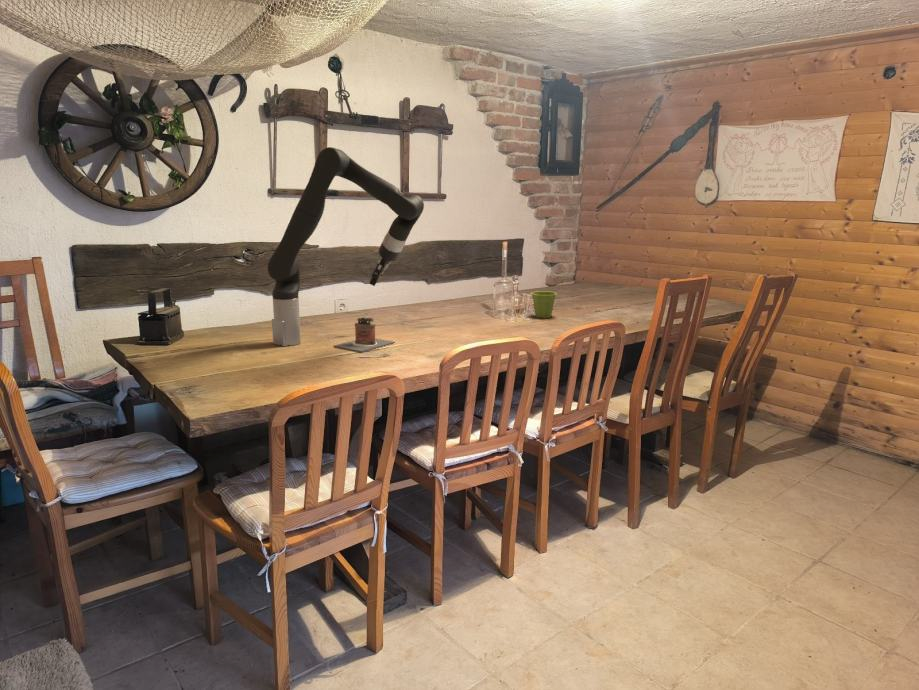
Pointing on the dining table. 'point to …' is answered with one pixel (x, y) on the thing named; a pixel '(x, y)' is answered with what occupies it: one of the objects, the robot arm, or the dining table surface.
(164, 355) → the dining table surface
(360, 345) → the mat
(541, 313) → the plant pot
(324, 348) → the dining table surface
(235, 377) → the dining table surface
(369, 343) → the lighter
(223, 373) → the dining table surface
